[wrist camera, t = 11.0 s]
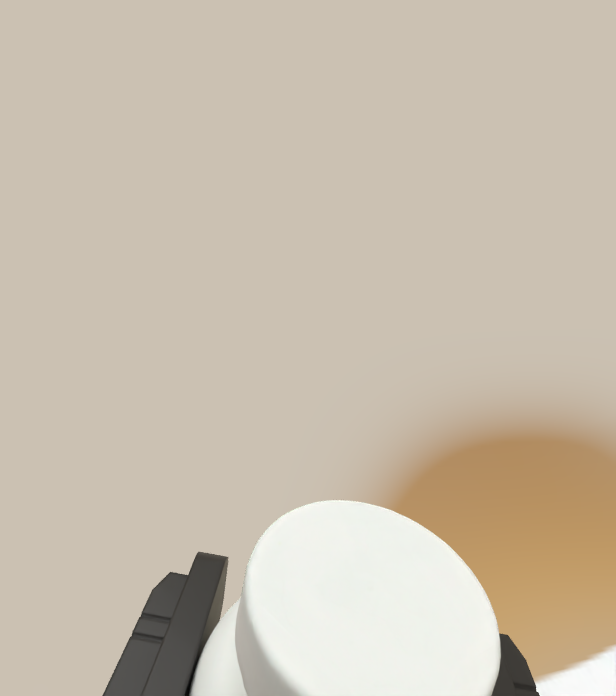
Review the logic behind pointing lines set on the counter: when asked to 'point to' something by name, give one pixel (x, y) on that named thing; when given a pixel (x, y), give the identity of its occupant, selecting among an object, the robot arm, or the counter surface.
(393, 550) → the supplement bottle
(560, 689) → the counter surface
